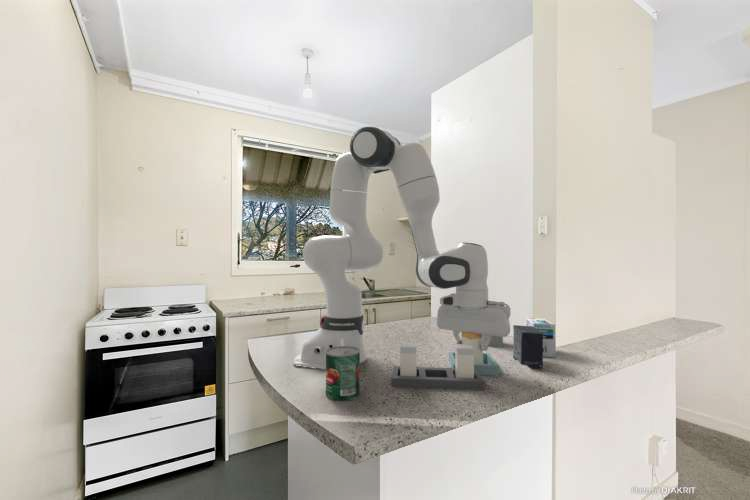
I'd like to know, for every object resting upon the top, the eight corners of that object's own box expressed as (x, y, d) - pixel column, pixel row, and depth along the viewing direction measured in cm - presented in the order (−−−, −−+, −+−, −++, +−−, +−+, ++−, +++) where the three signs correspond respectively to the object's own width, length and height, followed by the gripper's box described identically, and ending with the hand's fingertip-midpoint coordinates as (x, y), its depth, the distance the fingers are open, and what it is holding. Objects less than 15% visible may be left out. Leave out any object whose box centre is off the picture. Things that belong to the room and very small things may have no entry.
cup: (476, 344, 126) (475, 317, 126) (483, 339, 133) (482, 314, 133) (499, 348, 121) (499, 319, 121) (505, 343, 128) (505, 316, 128)
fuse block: (391, 390, 84) (391, 378, 84) (393, 377, 93) (393, 366, 93) (484, 394, 81) (484, 381, 81) (477, 380, 90) (477, 368, 90)
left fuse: (400, 382, 86) (400, 346, 86) (400, 377, 90) (400, 342, 90) (416, 383, 85) (416, 347, 86) (416, 377, 89) (416, 343, 90)
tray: (453, 377, 92) (453, 364, 92) (448, 363, 104) (448, 351, 104) (499, 379, 91) (499, 365, 91) (489, 364, 103) (489, 353, 103)
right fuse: (457, 385, 84) (457, 348, 84) (455, 379, 88) (455, 344, 88) (474, 385, 84) (473, 348, 84) (471, 379, 88) (471, 344, 88)
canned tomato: (318, 399, 79) (318, 351, 79) (342, 388, 85) (342, 344, 85) (343, 409, 74) (343, 357, 74) (367, 397, 80) (366, 349, 80)
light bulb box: (556, 357, 110) (556, 324, 110) (533, 356, 111) (533, 323, 111) (546, 348, 120) (546, 318, 120) (526, 347, 122) (525, 317, 122)
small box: (544, 369, 99) (544, 332, 99) (520, 368, 100) (520, 332, 100) (533, 358, 109) (533, 325, 109) (512, 357, 110) (512, 324, 111)
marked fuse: (472, 366, 95) (471, 333, 95) (462, 362, 99) (461, 331, 99) (483, 363, 97) (482, 332, 97) (473, 359, 100) (472, 329, 100)
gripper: (512, 301, 95) (512, 351, 95) (442, 296, 106) (442, 341, 106) (507, 303, 90) (508, 356, 89) (434, 298, 101) (434, 345, 100)
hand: (472, 348), depth 98 cm, fingers closed on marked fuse, 5 cm apart
